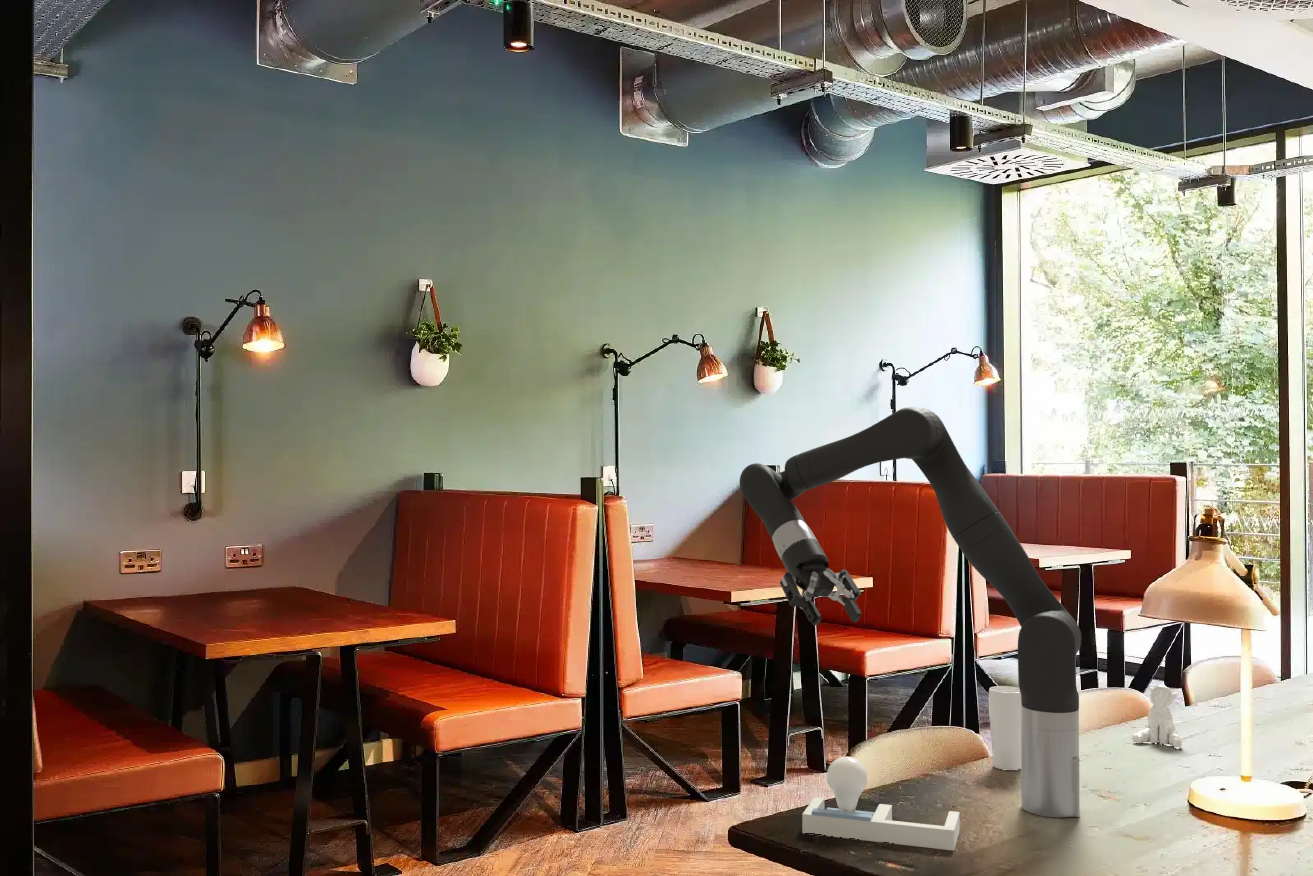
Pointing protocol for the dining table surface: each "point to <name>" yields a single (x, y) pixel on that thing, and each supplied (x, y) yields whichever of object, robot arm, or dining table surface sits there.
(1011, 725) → the drinking glass
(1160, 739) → the white creature statuette
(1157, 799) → the dining table surface
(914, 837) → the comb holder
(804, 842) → the dining table surface
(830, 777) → the lightbulb
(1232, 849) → the dining table surface
